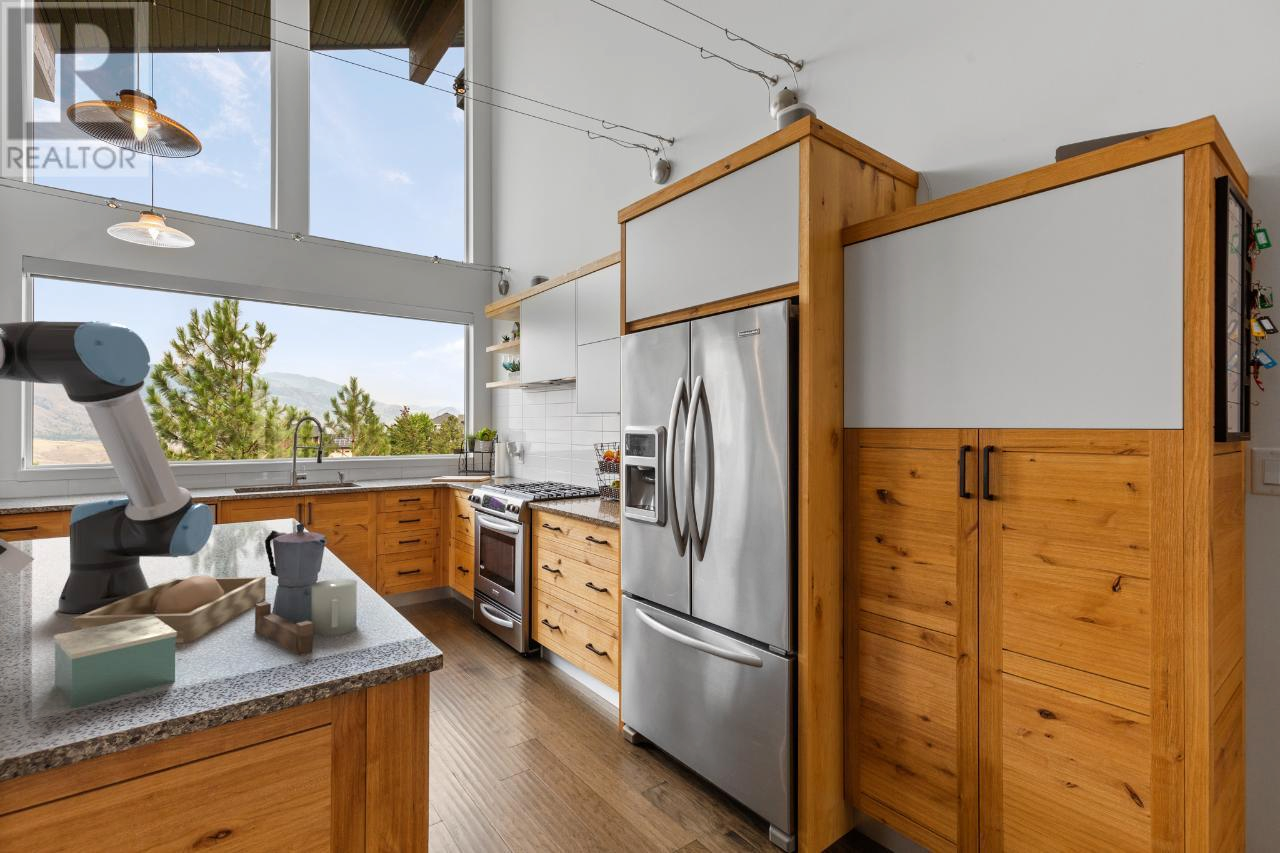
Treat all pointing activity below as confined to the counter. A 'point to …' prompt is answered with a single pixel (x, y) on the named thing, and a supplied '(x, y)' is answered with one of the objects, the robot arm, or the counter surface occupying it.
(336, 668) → the counter surface
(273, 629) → the walnut stop rail
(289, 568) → the moka pot
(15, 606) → the counter surface
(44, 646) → the counter surface
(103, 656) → the green tea tin
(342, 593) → the sage mug
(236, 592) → the pine crate
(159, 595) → the squash
